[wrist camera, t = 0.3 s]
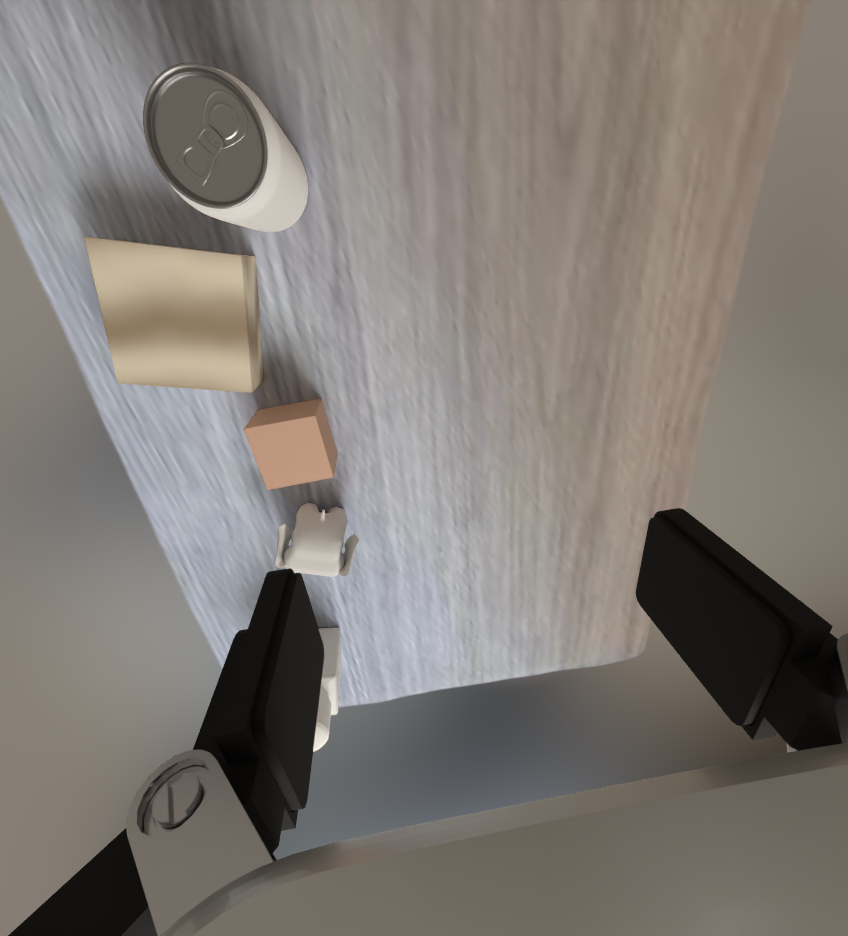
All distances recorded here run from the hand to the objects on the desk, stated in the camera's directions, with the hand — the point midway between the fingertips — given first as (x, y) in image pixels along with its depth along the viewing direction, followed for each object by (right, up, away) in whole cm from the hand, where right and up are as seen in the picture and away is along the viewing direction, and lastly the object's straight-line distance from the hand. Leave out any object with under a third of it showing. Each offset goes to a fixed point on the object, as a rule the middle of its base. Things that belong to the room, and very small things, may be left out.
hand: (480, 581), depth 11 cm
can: (-13, +24, +20) cm, 34 cm away
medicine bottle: (-16, -20, +42) cm, 49 cm away
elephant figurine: (-13, -3, +34) cm, 36 cm away
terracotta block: (-14, +6, +29) cm, 32 cm away
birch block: (-20, +16, +23) cm, 34 cm away
